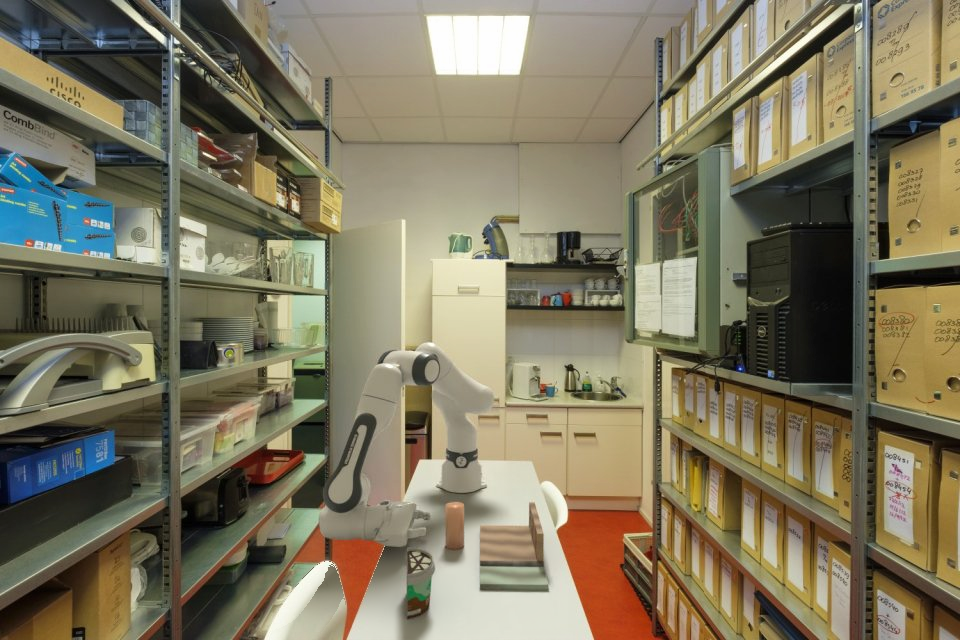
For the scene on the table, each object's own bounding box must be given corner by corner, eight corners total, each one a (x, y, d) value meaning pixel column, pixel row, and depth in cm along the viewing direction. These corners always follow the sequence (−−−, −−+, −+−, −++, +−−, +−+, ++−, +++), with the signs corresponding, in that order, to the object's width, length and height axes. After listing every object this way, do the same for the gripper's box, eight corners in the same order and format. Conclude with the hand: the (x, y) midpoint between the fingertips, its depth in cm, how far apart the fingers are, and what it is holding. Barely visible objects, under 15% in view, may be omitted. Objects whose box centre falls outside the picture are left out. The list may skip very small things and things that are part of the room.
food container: (436, 620, 98) (437, 573, 98) (407, 623, 97) (407, 575, 97) (433, 587, 110) (433, 544, 110) (406, 589, 109) (406, 546, 109)
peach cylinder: (446, 540, 133) (446, 501, 133) (464, 540, 133) (464, 501, 133) (444, 549, 128) (444, 509, 128) (464, 549, 128) (463, 509, 128)
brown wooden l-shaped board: (480, 532, 139) (480, 501, 139) (534, 532, 139) (534, 502, 139) (479, 589, 110) (480, 550, 110) (548, 589, 110) (548, 551, 110)
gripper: (369, 528, 121) (423, 529, 120) (386, 497, 141) (432, 498, 141) (369, 553, 121) (423, 553, 121) (386, 518, 141) (432, 519, 141)
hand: (428, 523), depth 131 cm, fingers open, 8 cm apart
